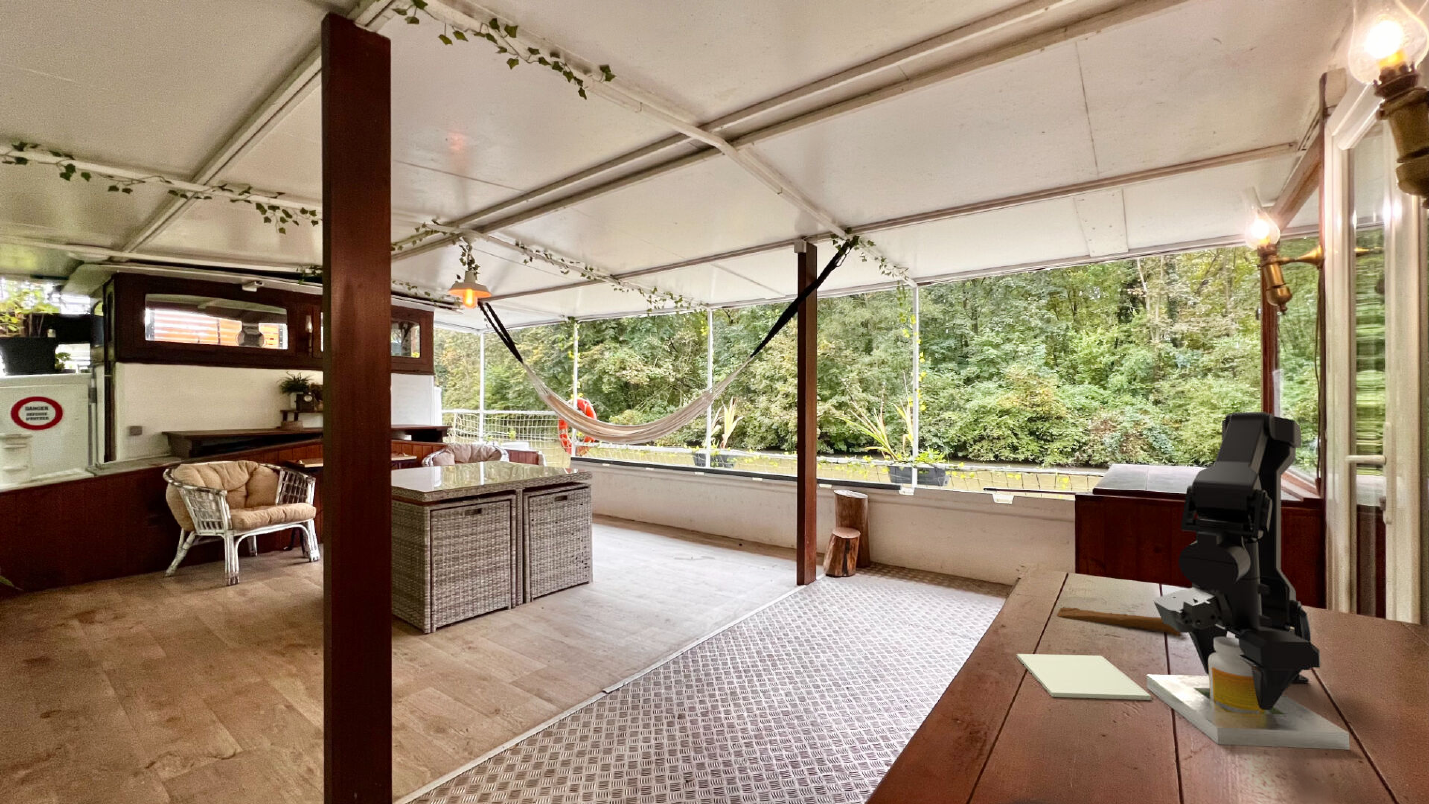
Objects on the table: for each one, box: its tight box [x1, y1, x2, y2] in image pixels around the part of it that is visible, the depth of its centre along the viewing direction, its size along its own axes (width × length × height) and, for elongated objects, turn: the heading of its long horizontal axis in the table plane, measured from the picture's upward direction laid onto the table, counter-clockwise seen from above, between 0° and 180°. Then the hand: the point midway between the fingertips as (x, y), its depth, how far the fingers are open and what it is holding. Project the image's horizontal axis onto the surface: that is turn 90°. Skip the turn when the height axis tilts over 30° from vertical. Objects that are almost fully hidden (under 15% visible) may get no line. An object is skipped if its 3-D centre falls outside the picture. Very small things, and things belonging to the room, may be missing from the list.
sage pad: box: [1016, 653, 1152, 701], centre depth 87 cm, size 13×13×1 cm
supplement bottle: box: [1208, 636, 1266, 714], centre depth 75 cm, size 5×5×10 cm
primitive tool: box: [1056, 606, 1182, 637], centre depth 107 cm, size 19×6×4 cm, turn 50°
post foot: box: [1146, 674, 1351, 751], centre depth 75 cm, size 14×14×2 cm
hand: (1236, 691), depth 75 cm, fingers open, 9 cm apart
